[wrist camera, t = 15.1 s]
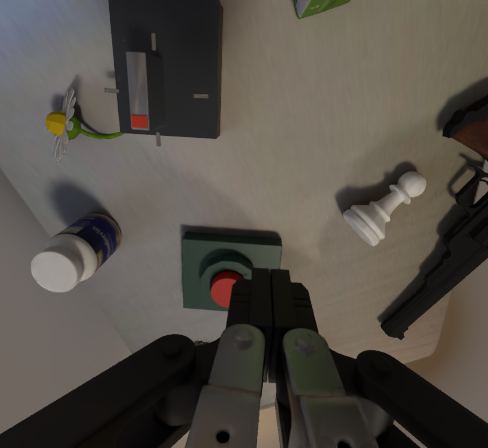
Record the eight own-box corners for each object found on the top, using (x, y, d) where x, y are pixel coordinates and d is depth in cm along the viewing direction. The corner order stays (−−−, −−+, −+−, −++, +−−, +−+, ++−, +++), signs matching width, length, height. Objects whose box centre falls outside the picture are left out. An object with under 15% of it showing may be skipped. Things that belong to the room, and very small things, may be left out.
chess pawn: (339, 214, 38) (398, 163, 37) (368, 245, 38) (428, 194, 37) (345, 213, 33) (413, 154, 32) (378, 249, 33) (449, 190, 32)
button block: (281, 238, 39) (283, 253, 36) (274, 304, 43) (275, 324, 40) (185, 231, 40) (178, 245, 36) (186, 298, 43) (180, 317, 40)
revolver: (308, 276, 43) (395, 330, 45) (310, 292, 40) (404, 350, 41) (482, 76, 32) (591, 158, 33) (505, 74, 28) (625, 165, 30)
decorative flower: (153, 86, 27) (19, 156, 30) (188, 131, 33) (72, 186, 36) (143, 33, 31) (24, 100, 34) (177, 82, 36) (71, 136, 39)
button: (246, 271, 37) (246, 279, 36) (244, 299, 39) (244, 308, 37) (213, 269, 37) (210, 277, 36) (212, 297, 39) (210, 306, 37)
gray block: (146, 58, 30) (124, 51, 25) (163, 59, 30) (144, 52, 25) (149, 124, 32) (130, 129, 27) (165, 125, 32) (148, 130, 27)
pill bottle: (129, 247, 41) (91, 291, 32) (90, 257, 42) (41, 302, 33) (111, 207, 39) (65, 241, 30) (70, 217, 40) (13, 254, 31)
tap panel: (223, 8, 31) (219, -2, 28) (219, 145, 36) (216, 150, 33) (110, 2, 31) (94, -8, 28) (122, 139, 36) (109, 143, 33)
